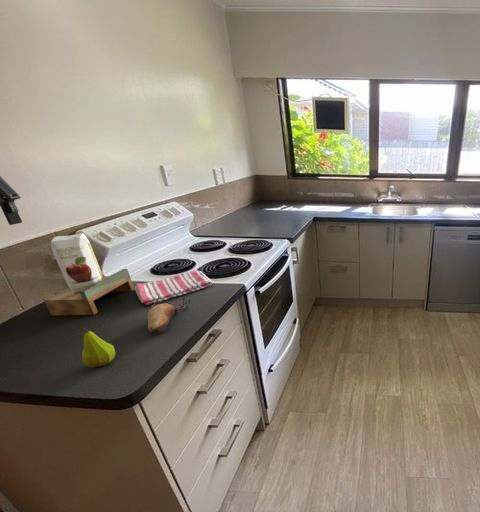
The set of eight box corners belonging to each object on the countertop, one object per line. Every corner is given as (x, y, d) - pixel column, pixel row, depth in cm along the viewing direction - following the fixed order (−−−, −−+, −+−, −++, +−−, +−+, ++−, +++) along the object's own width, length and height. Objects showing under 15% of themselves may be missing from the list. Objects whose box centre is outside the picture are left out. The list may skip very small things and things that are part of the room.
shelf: (51, 315, 97) (39, 292, 93) (98, 290, 113) (89, 269, 110) (94, 314, 97) (84, 291, 94) (134, 289, 114) (127, 268, 111)
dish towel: (135, 291, 112) (132, 284, 111) (201, 273, 128) (199, 266, 127) (143, 308, 101) (140, 299, 100) (215, 285, 117) (213, 278, 116)
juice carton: (74, 286, 103) (51, 236, 96) (106, 280, 108) (87, 231, 101) (69, 294, 98) (46, 242, 91) (103, 287, 103) (83, 237, 96)
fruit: (124, 354, 79) (109, 318, 75) (107, 371, 73) (89, 332, 69) (99, 356, 78) (82, 319, 74) (79, 373, 73) (60, 334, 68)
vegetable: (189, 323, 88) (162, 301, 83) (155, 346, 86) (126, 324, 81) (196, 301, 101) (174, 281, 97) (167, 321, 99) (143, 301, 95)
